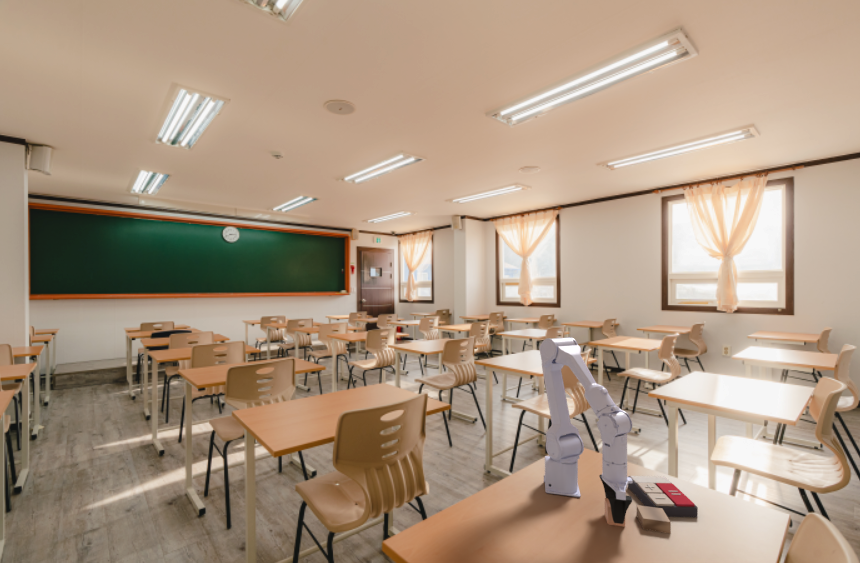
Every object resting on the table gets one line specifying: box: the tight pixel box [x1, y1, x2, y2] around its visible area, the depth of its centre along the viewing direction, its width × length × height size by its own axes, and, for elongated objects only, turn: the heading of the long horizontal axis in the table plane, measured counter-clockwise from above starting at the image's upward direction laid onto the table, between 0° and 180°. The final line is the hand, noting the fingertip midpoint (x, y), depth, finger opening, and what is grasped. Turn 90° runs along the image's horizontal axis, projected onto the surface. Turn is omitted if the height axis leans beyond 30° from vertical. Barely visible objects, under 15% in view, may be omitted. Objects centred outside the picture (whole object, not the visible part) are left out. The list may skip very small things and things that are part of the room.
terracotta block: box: [604, 497, 626, 527], centre depth 98 cm, size 4×4×4 cm
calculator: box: [627, 475, 699, 518], centre depth 108 cm, size 11×4×15 cm
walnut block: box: [636, 504, 672, 534], centre depth 97 cm, size 6×6×3 cm
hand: (614, 513), depth 98 cm, fingers open, 7 cm apart
